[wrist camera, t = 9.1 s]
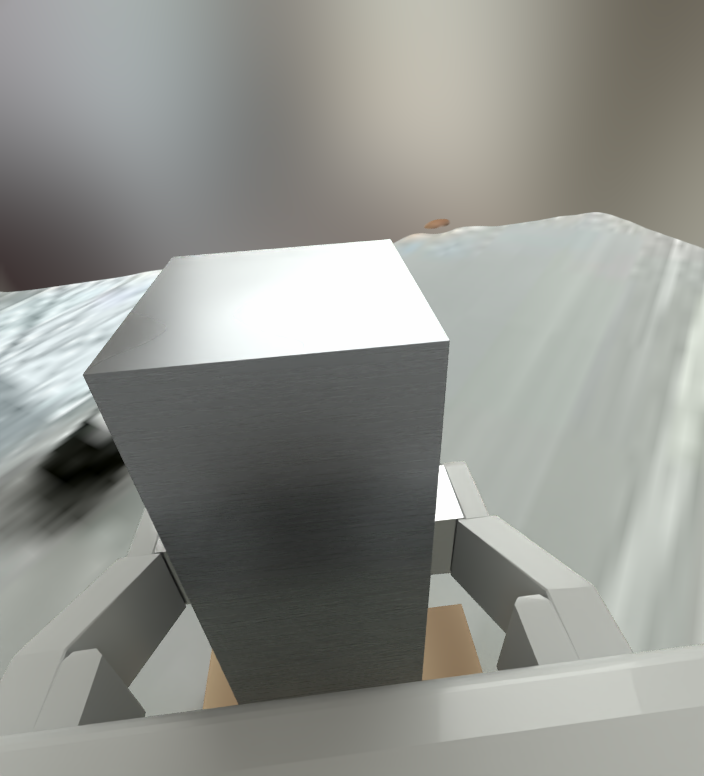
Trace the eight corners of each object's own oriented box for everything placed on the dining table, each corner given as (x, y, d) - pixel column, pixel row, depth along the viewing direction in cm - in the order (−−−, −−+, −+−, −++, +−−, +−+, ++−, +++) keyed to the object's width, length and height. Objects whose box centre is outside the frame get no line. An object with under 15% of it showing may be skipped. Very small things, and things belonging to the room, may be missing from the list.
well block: (187, 989, 15) (159, 985, 13) (227, 664, 23) (214, 634, 21) (541, 932, 15) (559, 919, 13) (456, 634, 23) (461, 604, 22)
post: (271, 774, 12) (82, 374, 5) (277, 627, 15) (172, 257, 8) (416, 754, 12) (449, 340, 5) (392, 613, 16) (390, 239, 8)
